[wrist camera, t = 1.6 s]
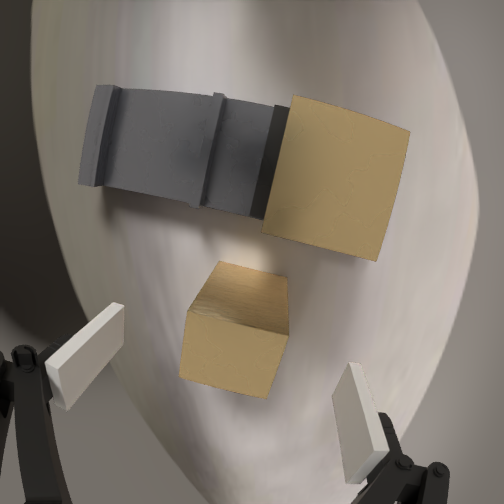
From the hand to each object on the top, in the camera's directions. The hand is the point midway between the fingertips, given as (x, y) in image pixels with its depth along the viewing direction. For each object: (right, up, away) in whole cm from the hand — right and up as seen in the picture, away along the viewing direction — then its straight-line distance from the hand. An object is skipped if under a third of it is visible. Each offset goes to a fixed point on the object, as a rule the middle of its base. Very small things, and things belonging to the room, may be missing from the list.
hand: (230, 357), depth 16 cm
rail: (0, +12, +4) cm, 13 cm away
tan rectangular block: (+1, +2, +7) cm, 7 cm away
